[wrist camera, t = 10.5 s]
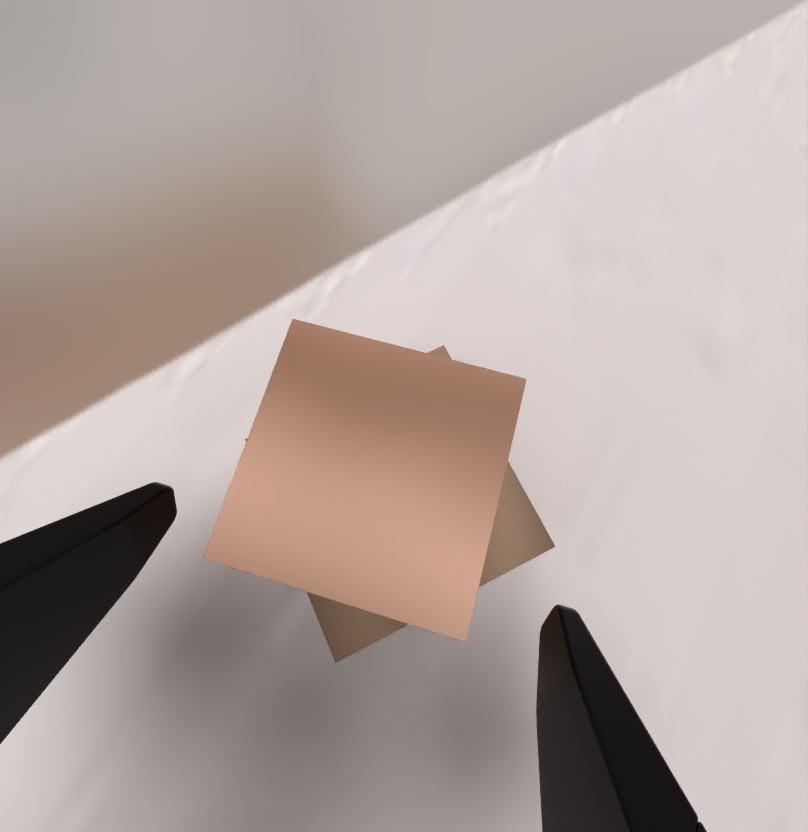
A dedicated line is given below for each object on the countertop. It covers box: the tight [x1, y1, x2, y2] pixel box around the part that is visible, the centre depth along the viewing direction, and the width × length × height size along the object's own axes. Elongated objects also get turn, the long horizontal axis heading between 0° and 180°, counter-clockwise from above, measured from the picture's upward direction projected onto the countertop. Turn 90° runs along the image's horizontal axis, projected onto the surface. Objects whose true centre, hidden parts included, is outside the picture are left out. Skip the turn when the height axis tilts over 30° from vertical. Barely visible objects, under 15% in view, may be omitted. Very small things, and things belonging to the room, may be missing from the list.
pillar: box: [203, 319, 526, 642], centre depth 13 cm, size 5×5×10 cm
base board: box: [245, 345, 555, 662], centre depth 18 cm, size 10×10×2 cm
